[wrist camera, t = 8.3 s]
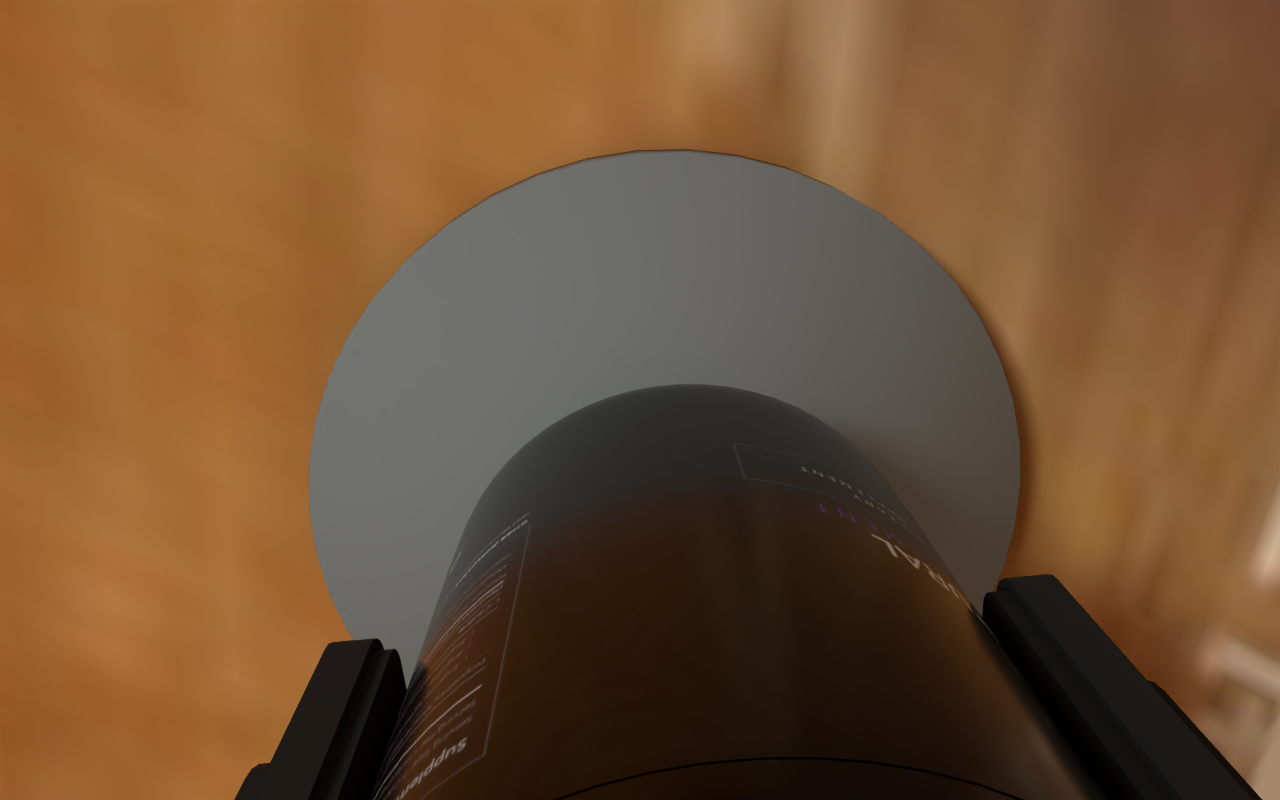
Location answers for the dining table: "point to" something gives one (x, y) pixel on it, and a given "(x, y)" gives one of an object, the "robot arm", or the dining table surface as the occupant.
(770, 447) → the supplement bottle
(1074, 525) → the dining table surface
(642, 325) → the coaster
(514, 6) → the dining table surface
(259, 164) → the dining table surface
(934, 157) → the dining table surface
